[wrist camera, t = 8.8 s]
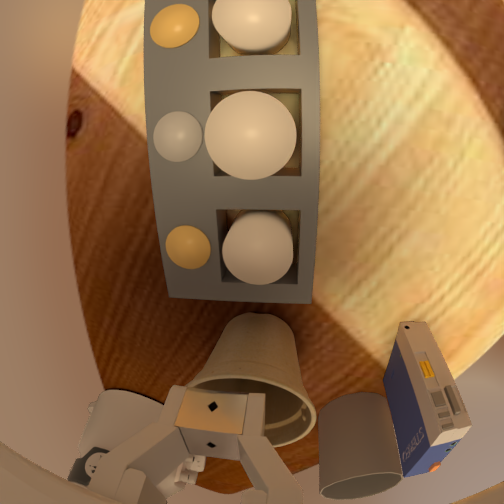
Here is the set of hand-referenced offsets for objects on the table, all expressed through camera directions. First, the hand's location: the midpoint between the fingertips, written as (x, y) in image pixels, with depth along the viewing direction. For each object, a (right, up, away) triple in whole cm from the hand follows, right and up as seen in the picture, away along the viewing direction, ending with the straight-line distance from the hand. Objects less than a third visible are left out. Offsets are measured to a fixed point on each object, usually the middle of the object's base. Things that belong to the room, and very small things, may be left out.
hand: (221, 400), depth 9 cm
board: (0, +13, +10) cm, 16 cm away
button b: (+1, +12, +7) cm, 14 cm away
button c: (+1, +19, +6) cm, 20 cm away
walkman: (+16, -5, +16) cm, 23 cm away
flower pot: (+2, -3, +17) cm, 17 cm away
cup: (+13, -14, +21) cm, 28 cm away
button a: (+2, +6, +12) cm, 14 cm away
